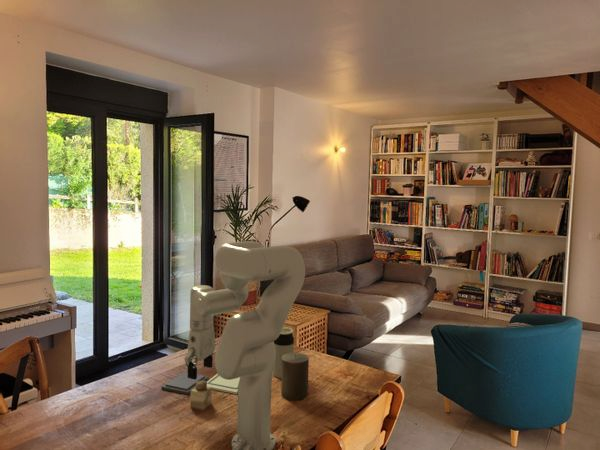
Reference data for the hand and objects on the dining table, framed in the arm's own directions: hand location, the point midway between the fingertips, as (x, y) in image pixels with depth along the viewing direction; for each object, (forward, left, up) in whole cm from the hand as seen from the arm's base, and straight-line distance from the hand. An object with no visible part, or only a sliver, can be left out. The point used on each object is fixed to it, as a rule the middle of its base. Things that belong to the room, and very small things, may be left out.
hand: (200, 372), depth 155 cm
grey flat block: (+12, +13, -11) cm, 21 cm away
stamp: (0, -1, -11) cm, 11 cm away
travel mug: (+34, -17, -12) cm, 39 cm away
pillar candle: (+20, -27, -12) cm, 35 cm away
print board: (+20, -1, -11) cm, 23 cm away
